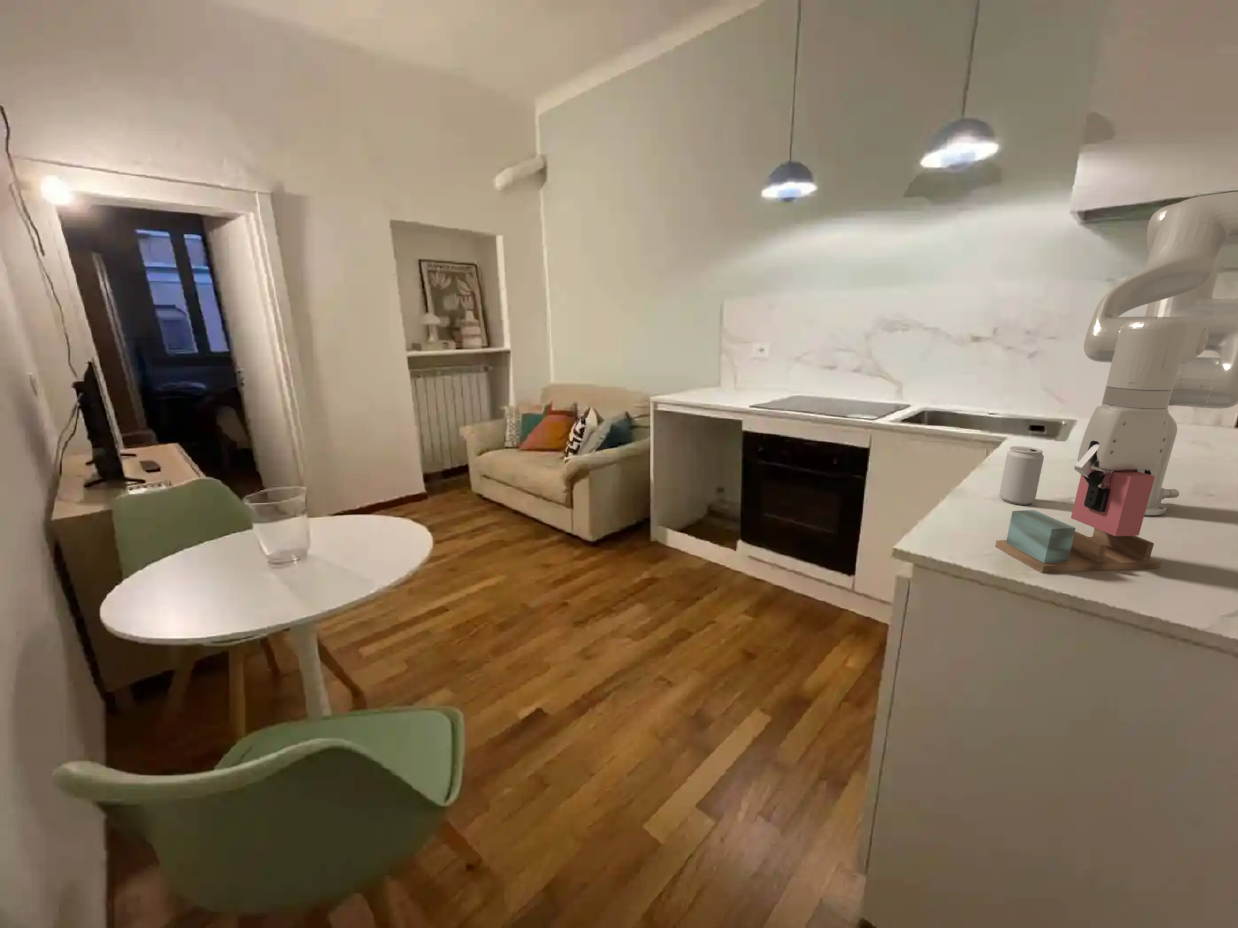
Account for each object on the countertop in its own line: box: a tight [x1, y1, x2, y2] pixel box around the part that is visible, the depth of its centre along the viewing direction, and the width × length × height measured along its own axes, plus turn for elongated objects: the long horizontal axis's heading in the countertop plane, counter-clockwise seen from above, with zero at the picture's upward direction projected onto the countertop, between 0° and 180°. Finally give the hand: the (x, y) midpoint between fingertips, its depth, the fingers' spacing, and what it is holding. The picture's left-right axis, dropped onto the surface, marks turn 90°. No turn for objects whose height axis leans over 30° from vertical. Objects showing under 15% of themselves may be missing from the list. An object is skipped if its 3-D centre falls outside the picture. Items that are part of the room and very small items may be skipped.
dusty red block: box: [1070, 466, 1155, 537], centre depth 86 cm, size 4×8×10 cm, turn 3°
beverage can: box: [998, 445, 1045, 506], centre depth 114 cm, size 6×6×12 cm
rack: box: [995, 509, 1162, 574], centre depth 88 cm, size 20×10×7 cm, turn 93°
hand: (1107, 507), depth 87 cm, fingers closed on dusty red block, 4 cm apart
